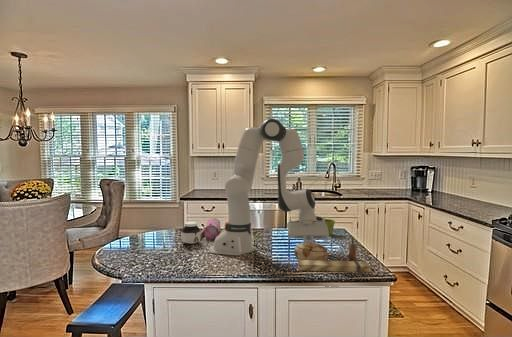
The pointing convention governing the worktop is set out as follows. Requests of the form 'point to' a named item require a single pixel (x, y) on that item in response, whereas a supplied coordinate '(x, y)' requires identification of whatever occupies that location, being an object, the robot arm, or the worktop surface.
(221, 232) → the pencil case cradle
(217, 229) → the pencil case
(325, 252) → the trinket box
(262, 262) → the worktop surface
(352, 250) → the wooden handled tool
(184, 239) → the spread jar
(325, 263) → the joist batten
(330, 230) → the plant pot
